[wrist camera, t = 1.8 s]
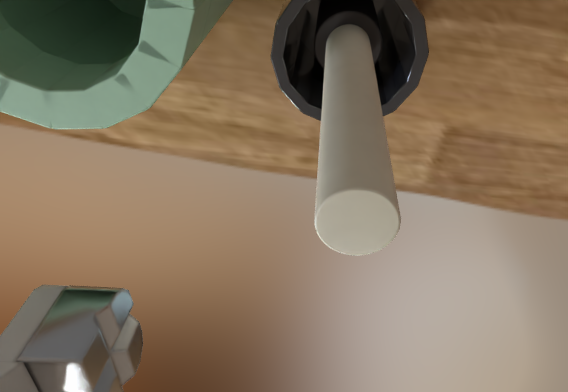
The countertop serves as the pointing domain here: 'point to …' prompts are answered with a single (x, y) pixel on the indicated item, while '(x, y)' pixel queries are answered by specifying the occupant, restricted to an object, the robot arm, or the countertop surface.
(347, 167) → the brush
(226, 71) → the countertop surface
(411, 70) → the holder
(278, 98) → the countertop surface
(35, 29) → the jar
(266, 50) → the countertop surface
